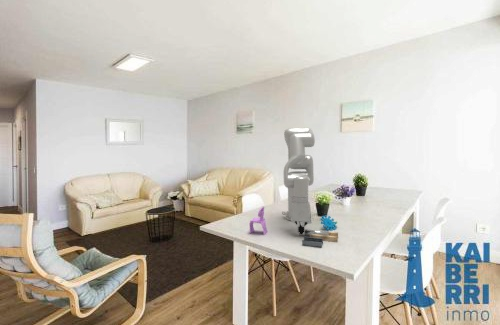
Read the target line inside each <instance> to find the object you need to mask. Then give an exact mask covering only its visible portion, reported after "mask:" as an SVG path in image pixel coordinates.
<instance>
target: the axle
mask: <svg viewBox="0 0 500 325" xmlns="http://www.w3.org/2000/svg"><path fill="white" fill-rule="evenodd" d="M329 232H330V231H329V230H326V231H324V230H316V229H305V228H304V236H306V237H310V235H311V234H318V235H327V236H329Z"/></svg>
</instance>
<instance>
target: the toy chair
mask: <svg viewBox="0 0 500 325" xmlns="http://www.w3.org/2000/svg"><path fill="white" fill-rule="evenodd" d="M264 215H265V207H264V206H261V208H260V209H259V210H258V215H257V216H258V217H253V218H252V219H251V220H250V221H249V234H250V235H251V234H253V232H255V228H254V223H255V224H260V225H261V226H262V231H263V232H262V233H263V236H265V235H267V233H268V232H269V231H268V228H267V223H266V222H267V221H266V219H265V218H264Z"/></svg>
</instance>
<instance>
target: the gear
mask: <svg viewBox="0 0 500 325" xmlns="http://www.w3.org/2000/svg"><path fill="white" fill-rule="evenodd" d="M319 221H320V224H321V225H322V228H325V230H326V231H329V232H334V231H335V230H336V228H337V227H338V226H337V224H338V221H335V219H334V218H331V216H330V215H327V214H325V215H321V218H320V219H319Z"/></svg>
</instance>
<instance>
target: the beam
mask: <svg viewBox="0 0 500 325" xmlns="http://www.w3.org/2000/svg"><path fill="white" fill-rule="evenodd" d="M328 232H329V236H327V235H318V234H311V235H310V236H309V237H315V238H323V242H324V241H325V242H334V243H338V240H339V232H337V231H328Z"/></svg>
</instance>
